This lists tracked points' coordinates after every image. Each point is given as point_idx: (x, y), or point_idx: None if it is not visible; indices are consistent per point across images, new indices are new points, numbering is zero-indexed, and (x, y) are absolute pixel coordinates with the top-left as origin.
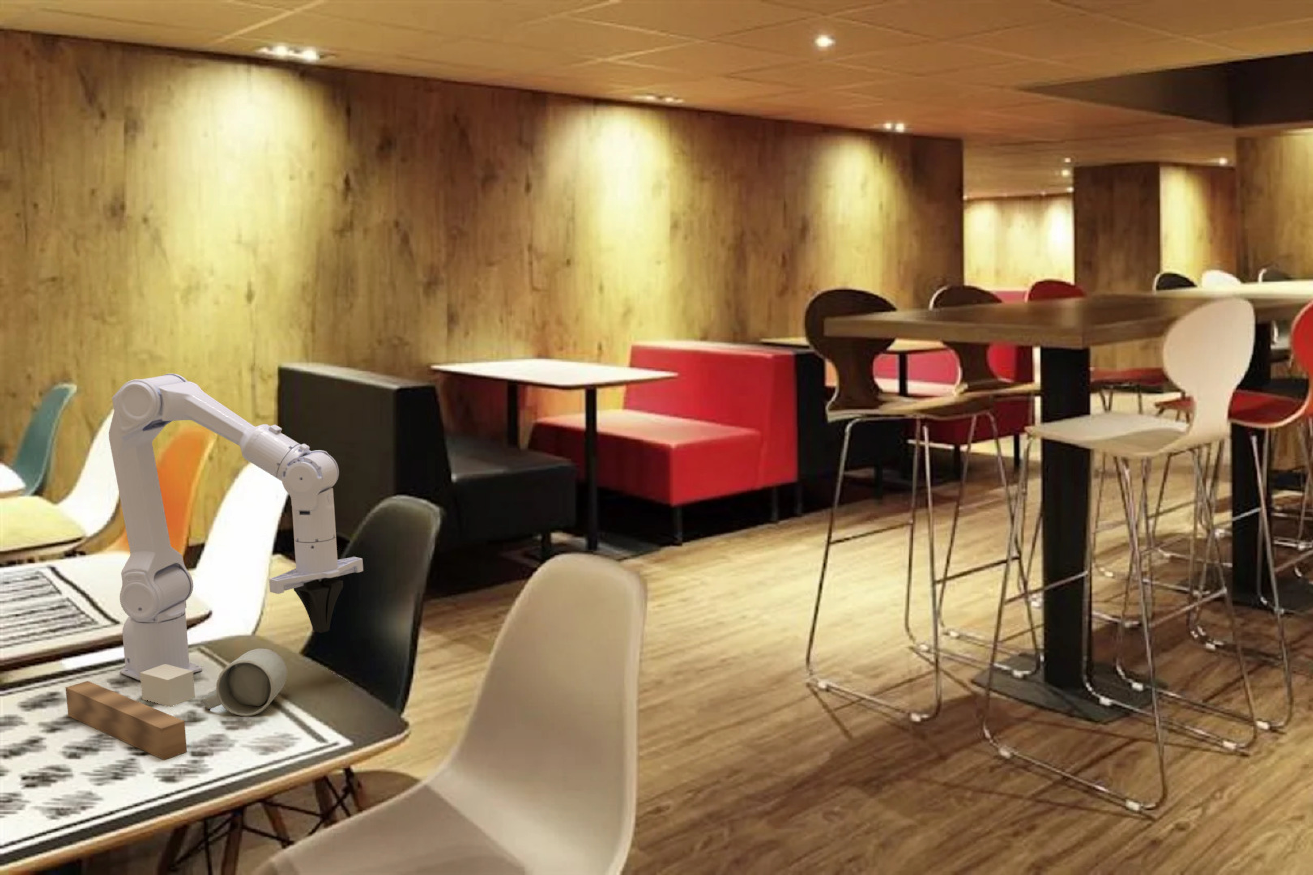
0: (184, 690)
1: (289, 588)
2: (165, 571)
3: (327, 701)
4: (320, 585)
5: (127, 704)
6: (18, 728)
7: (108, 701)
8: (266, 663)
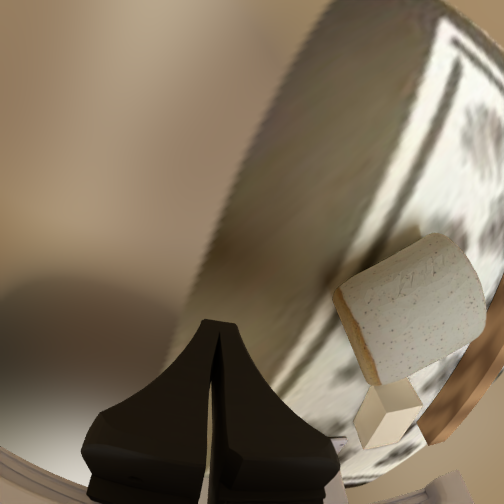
0: (392, 392)
1: (393, 501)
2: None
3: (325, 167)
4: (227, 492)
5: (499, 361)
6: None
7: (488, 383)
8: (455, 289)
